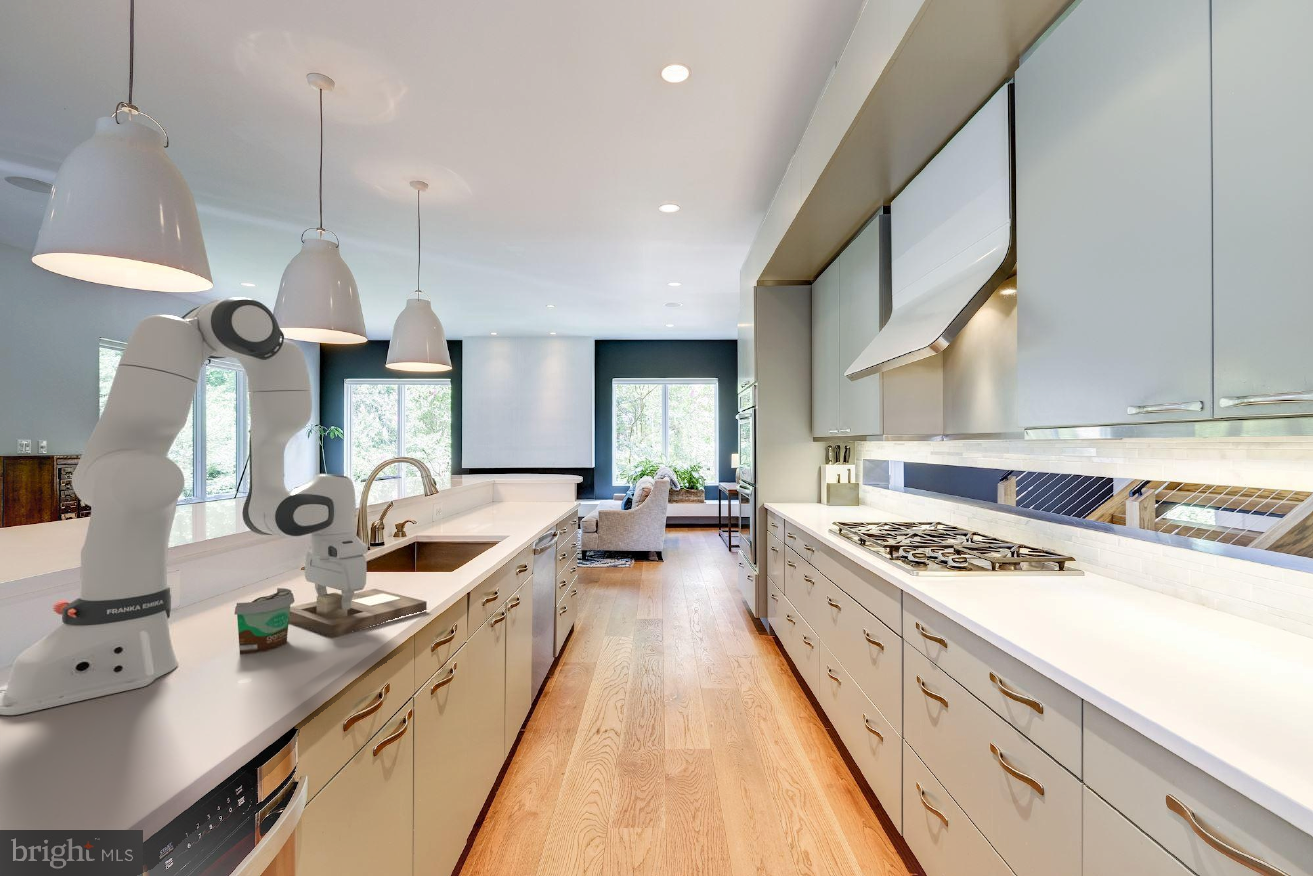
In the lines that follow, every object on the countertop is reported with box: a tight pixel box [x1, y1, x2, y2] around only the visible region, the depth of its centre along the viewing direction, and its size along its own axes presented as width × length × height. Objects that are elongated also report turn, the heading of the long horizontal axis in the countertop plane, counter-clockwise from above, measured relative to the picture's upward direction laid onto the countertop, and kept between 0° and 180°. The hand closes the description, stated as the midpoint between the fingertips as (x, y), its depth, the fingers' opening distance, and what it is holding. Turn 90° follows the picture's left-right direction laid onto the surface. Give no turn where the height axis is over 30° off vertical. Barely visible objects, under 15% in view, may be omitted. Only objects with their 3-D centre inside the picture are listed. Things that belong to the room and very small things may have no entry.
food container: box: [234, 587, 295, 655], centre depth 113 cm, size 12×6×10 cm, turn 179°
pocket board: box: [289, 588, 428, 638], centre depth 133 cm, size 22×22×3 cm
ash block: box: [316, 591, 347, 620], centre depth 128 cm, size 4×4×6 cm
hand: (334, 605), depth 129 cm, fingers open, 8 cm apart
